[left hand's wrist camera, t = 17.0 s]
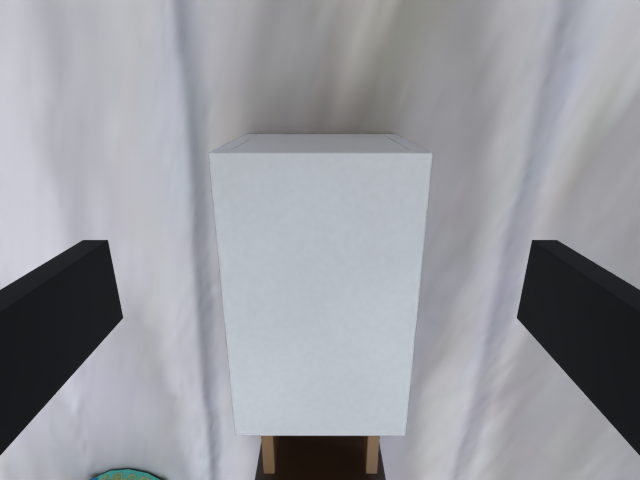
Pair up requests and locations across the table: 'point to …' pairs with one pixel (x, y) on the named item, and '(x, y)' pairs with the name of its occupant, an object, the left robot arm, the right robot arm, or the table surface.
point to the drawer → (320, 458)
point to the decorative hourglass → (125, 475)
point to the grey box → (320, 279)
